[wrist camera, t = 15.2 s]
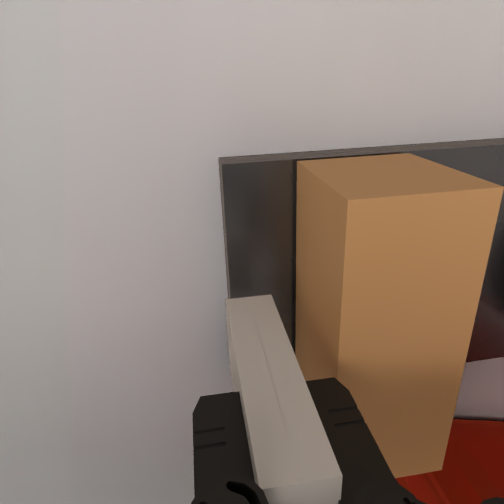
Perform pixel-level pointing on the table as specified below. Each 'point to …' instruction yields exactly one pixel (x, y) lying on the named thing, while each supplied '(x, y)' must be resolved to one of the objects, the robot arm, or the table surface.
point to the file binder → (465, 466)
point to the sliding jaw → (392, 291)
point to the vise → (284, 227)
